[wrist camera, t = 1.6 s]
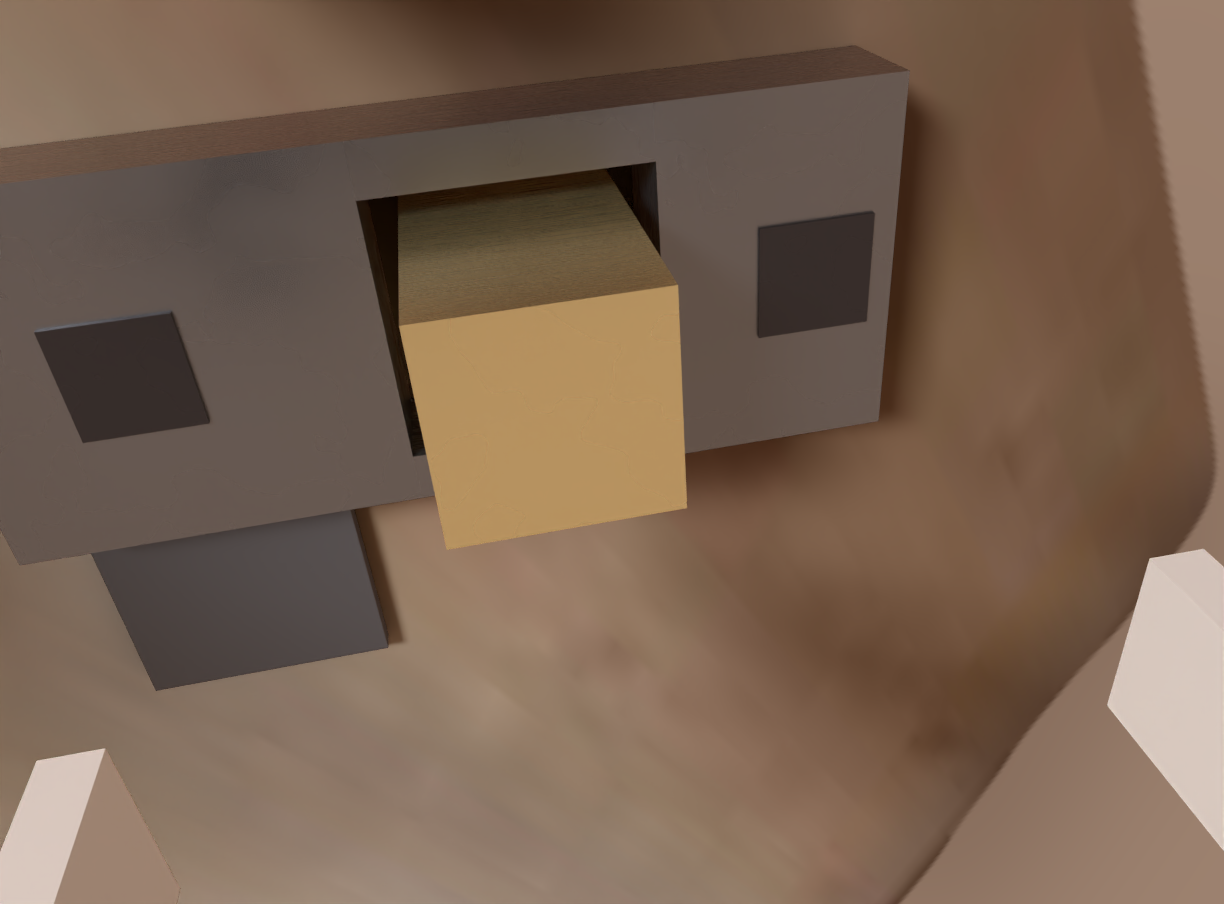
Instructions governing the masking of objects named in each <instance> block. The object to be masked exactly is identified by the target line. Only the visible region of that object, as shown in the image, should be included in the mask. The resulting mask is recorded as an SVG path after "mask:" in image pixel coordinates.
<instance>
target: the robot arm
mask: <svg viewBox="0 0 1224 904" xmlns="http://www.w3.org/2000/svg"><path fill="white" fill-rule="evenodd" d="M1107 706H1108V707H1109V709H1110V710H1111V711H1112V712H1113V714H1114V715H1115V716H1116V717H1117V719H1118V720H1119V721H1120V722H1121V724H1122V725H1123V726H1124V727H1125V728H1126V730H1127V731H1128V732H1129V733H1130V735H1131V736H1132V737H1133V738H1134V740H1135V741H1136V742H1137V743H1138V745H1139V746H1140V747H1141V748H1142V750H1143V751H1144V752H1145V753H1146V755H1147V756H1148V757H1149V758H1150V760H1151V761H1152V762H1153V763H1154V765H1155V766H1156V767H1157V768H1158V770H1159V771H1160V772H1161V773H1162V775H1163V776H1164V777H1165V778H1166V780H1167V781H1168V782H1169V783H1170V785H1171V786H1172V787H1173V788H1174V790H1175V791H1176V792H1177V793H1178V795H1179V796H1180V797H1181V798H1182V800H1183V801H1184V802H1185V803H1186V805H1187V806H1188V807H1189V808H1190V810H1191V811H1192V812H1193V813H1194V814H1195V816H1196V817H1197V818H1198V820H1199V821H1200V822H1201V823H1202V824H1203V826H1204V827H1205V828H1206V830H1207V831H1208V832H1209V833H1210V835H1211V836H1212V837H1213V838H1214V840H1215V841H1216V842H1217V843H1218V845H1219V846H1220V847H1221V848H1222V850H1223V851H1224V567H1223V566H1222V565H1221V564H1220V563H1219V562H1218V561H1217V560H1216V559H1214V558H1213V557H1212V556H1211V555H1210V554H1209V553H1208V552H1207V551H1206V550H1204V549H1200V550H1195V551H1189V552H1183V553H1178V554H1172V555H1167V556H1161V557H1156V558H1150V559H1149V563H1148V566H1147V570H1146V573H1145V576H1144V580H1143V583H1142V587H1141V590H1140V594H1139V597H1138V601H1137V604H1136V607H1135V611H1134V614H1133V618H1132V621H1131V625H1130V628H1129V632H1128V635H1127V638H1126V642H1125V645H1124V649H1123V652H1122V656H1121V659H1120V663H1119V666H1118V670H1117V673H1116V677H1115V680H1114V683H1113V687H1112V690H1111V693H1110V697H1109V700H1108V704H1107ZM179 893H180V887H179V885H178V883H177V881H176V880H175V878H174V876H173V874H172V872H171V870H170V868H169V866H168V865H167V863H166V861H165V859H164V857H163V855H162V853H161V851H160V850H159V848H158V846H157V844H156V842H155V840H154V838H153V836H152V835H151V833H150V831H149V829H148V827H147V825H146V823H145V821H144V820H143V818H142V816H141V814H140V812H139V810H138V808H137V806H136V805H135V803H134V801H133V799H132V797H131V795H130V793H129V791H128V790H127V788H126V786H125V784H124V782H123V780H122V778H121V776H120V775H119V773H118V771H117V769H116V767H115V765H114V763H113V761H112V760H111V758H110V756H109V754H108V752H107V750H106V748H104V749H98V750H93V751H87V752H82V753H76V754H71V755H65V756H60V757H54V758H49V759H43V760H38V761H36V763H35V766H34V768H33V771H32V773H31V776H30V778H29V781H28V783H27V786H26V788H25V791H24V793H23V796H22V798H21V801H20V803H19V806H18V808H17V811H16V813H15V816H14V818H13V821H12V823H11V826H10V828H9V831H8V833H7V836H6V838H5V841H4V843H3V846H2V848H1V851H0V904H177V902H178V897H179Z"/></svg>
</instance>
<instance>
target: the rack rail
mask: <svg viewBox="0 0 1224 904" xmlns="http://www.w3.org/2000/svg"><path fill="white" fill-rule="evenodd" d="M909 72H910V71H909V70H907V69H905V68H903V67H901V66H899V65H896V64H894V63H892V62H890V61H888V60H886V59H884V58H881V57H879V56H877V55H875V54H873V53H871V52H869V51H866V50H864V49H862V48H860V47H858V46H848V47H839V48H831V49H823V50H814V51H806V52H798V53H790V54H781V55H773V56H765V57H756V58H748V59H740V60H732V61H723V62H715V63H707V64H698V65H690V66H682V67H674V68H665V69H657V70H649V71H640V72H632V73H624V74H616V75H607V76H599V77H591V78H582V79H574V80H566V81H558V82H549V83H541V84H533V85H524V86H516V87H508V88H500V89H491V90H483V91H475V92H466V93H458V94H450V95H442V96H433V97H425V98H417V99H408V100H400V101H392V102H384V103H375V104H367V105H359V106H350V107H342V108H334V109H325V110H317V111H309V112H301V113H292V114H284V115H276V116H267V117H259V118H251V119H243V120H234V121H226V122H218V123H209V124H201V125H193V126H185V127H176V128H168V129H160V130H151V131H143V132H135V133H127V134H118V135H110V136H102V137H93V138H85V139H77V140H69V141H60V142H52V143H44V144H35V145H27V146H19V147H11V148H2V149H0V529H1V531H2V533H3V535H4V537H5V539H6V540H7V542H8V544H9V546H10V548H11V550H12V552H13V554H14V556H15V558H16V559H17V561H18V563H19V565H25V564H31V563H37V562H43V561H49V560H55V559H61V558H67V557H73V556H79V555H84V554H90V553H96V552H102V551H108V550H114V549H120V548H126V547H132V546H138V545H144V544H150V543H156V542H162V541H168V540H174V539H180V538H186V537H192V536H198V535H203V534H209V533H215V532H221V531H227V530H233V529H239V528H245V527H251V526H257V525H263V524H269V523H275V522H281V521H287V520H293V519H299V518H305V517H311V516H317V515H322V514H328V513H334V512H340V511H346V510H352V509H358V508H364V507H370V506H376V505H382V504H388V503H394V502H400V501H406V500H412V499H418V498H424V497H430V496H435V492H434V488H433V483H432V478H431V474H430V469H429V464H428V460H427V455H426V450H425V446H424V441H423V436H422V432H421V427H420V422H419V418H418V413H417V408H416V404H415V399H414V398H411V396H410V391H409V387H408V382H407V377H406V373H405V368H404V364H403V359H402V354H401V350H400V345H399V340H398V336H397V331H396V327H395V322H394V317H393V313H392V308H391V303H390V299H389V294H388V289H387V285H386V280H385V276H384V271H383V266H382V262H381V257H380V252H379V248H378V243H377V239H376V234H375V229H374V225H373V220H372V215H371V211H370V206H369V202H368V199H375V198H383V197H391V196H398V195H406V194H413V193H421V192H428V191H436V190H444V189H451V188H459V187H466V186H474V185H482V184H489V183H497V182H504V181H512V180H519V179H527V178H535V177H542V176H550V175H557V174H565V173H573V172H580V171H588V170H595V169H603V168H610V167H618V166H626V165H631V173H632V189H633V205H634V215H635V217H636V218H637V220H638V222H639V223H640V225H641V226H642V228H643V230H644V231H645V233H646V234H647V236H648V238H649V239H650V241H651V242H652V244H653V246H654V247H655V249H656V250H657V252H658V254H659V255H660V257H661V258H662V260H663V262H664V263H665V265H666V266H667V268H668V270H669V271H670V273H671V274H672V276H673V278H674V279H675V281H676V282H677V284H678V294H679V319H680V344H681V370H682V395H683V420H684V445H685V453H691V452H697V451H703V450H709V449H715V448H721V447H727V446H733V445H739V444H745V443H751V442H757V441H763V440H769V439H775V438H781V437H787V436H792V435H798V434H804V433H810V432H816V431H822V430H828V429H834V428H840V427H846V426H852V425H858V424H864V423H870V422H876V421H878V420H879V409H880V398H881V387H882V375H883V364H884V353H885V342H886V330H887V319H888V308H889V297H890V286H891V274H892V263H893V252H894V241H895V229H896V218H897V207H898V196H899V185H900V173H901V162H902V151H903V140H904V128H905V117H906V106H907V95H908V84H909Z"/></svg>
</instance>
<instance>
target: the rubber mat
mask: <svg viewBox="0 0 1224 904" xmlns="http://www.w3.org/2000/svg"><path fill="white" fill-rule="evenodd" d="M91 554H92V556H93V558H94V561H95V563H96V565H97V567H98V569H99V571H100V573H101V575H102V578H103V580H104V582H105V584H106V586H107V588H108V590H109V592H110V595H111V597H112V599H113V601H114V603H115V605H116V607H117V609H118V611H119V614H120V616H121V618H122V620H123V622H124V624H125V626H126V628H127V631H128V633H129V635H130V637H131V639H132V641H133V643H134V645H135V647H136V650H137V652H138V654H139V656H140V658H141V660H142V662H143V664H144V667H145V669H146V671H147V673H148V675H149V677H150V679H151V681H152V684H153V686H154V688H155V690H156V691H157V690H163V689H168V688H173V687H179V686H184V685H190V684H195V683H200V682H206V681H211V680H217V679H222V678H227V677H233V676H238V675H244V674H249V673H254V672H260V671H265V670H271V669H276V668H281V667H287V666H292V665H298V664H303V663H308V662H314V661H319V660H325V659H330V658H335V657H341V656H346V655H352V654H357V653H362V652H368V651H373V650H379V649H384V648H388V631H387V628H386V624H385V620H384V617H383V613H382V609H381V606H380V602H379V598H378V595H377V591H376V587H375V584H374V580H373V576H372V573H371V569H370V565H369V562H368V558H367V554H366V551H365V547H364V543H363V540H362V536H361V532H360V529H359V525H358V521H357V518H356V514H355V510H354V509H352V510H346V511H340V512H334V513H328V514H322V515H317V516H311V517H305V518H299V519H293V520H287V521H281V522H275V523H269V524H263V525H257V526H251V527H245V528H239V529H233V530H227V531H221V532H215V533H209V534H203V535H198V536H192V537H186V538H180V539H174V540H168V541H162V542H156V543H150V544H144V545H138V546H132V547H126V548H120V549H114V550H108V551H102V552H96V553H91Z"/></svg>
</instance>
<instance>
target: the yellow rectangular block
mask: <svg viewBox="0 0 1224 904" xmlns="http://www.w3.org/2000/svg"><path fill="white" fill-rule="evenodd" d="M398 274H399V329H400V333H401V338H402V343H403V347H404V352H405V357H406V361H407V366H408V371H409V375H410V380H411V385H412V389H413V394H414V399H415V404H416V408H417V413H418V418H419V422H420V427H421V432H422V436H423V441H424V446H425V450H426V455H427V460H428V464H429V469H430V474H431V478H432V483H433V488H434V492H435V497H436V502H437V506H438V511H439V516H440V520H441V525H442V530H443V535H444V539H445V544H446V549H447V550H448V549H454V548H460V547H466V546H471V545H477V544H483V543H489V542H494V541H500V540H506V539H512V538H517V537H523V536H529V535H535V534H540V533H546V532H552V531H558V530H563V529H569V528H575V527H581V526H586V525H592V524H598V523H604V522H609V521H615V520H621V519H627V518H632V517H638V516H644V515H650V514H655V513H661V512H667V511H673V510H678V509H684V508H687V495H686V470H685V445H684V420H683V395H682V370H681V344H680V319H679V294H678V284H677V282H676V281H675V279H674V278H673V276H672V274H671V273H670V271H669V270H668V268H667V266H666V265H665V263H664V262H663V260H662V258H661V257H660V255H659V254H658V252H657V250H656V249H655V247H654V246H653V244H652V242H651V241H650V239H649V238H648V236H647V234H646V233H645V231H644V230H643V228H642V226H641V225H640V223H639V222H638V220H637V218H636V217H635V215H634V214H633V212H632V210H631V209H630V207H629V206H628V204H627V202H626V201H625V199H624V198H623V196H622V194H621V193H620V191H619V190H618V188H617V186H616V185H615V183H614V182H613V180H612V178H611V177H610V175H609V174H608V172H607V170H606V169H605V168H603V169H595V170H588V171H580V172H573V173H565V174H557V175H550V176H542V177H535V178H527V179H519V180H512V181H504V182H497V183H489V184H482V185H474V186H466V187H459V188H451V189H444V190H436V191H428V192H421V193H413V194H406V195H398Z"/></svg>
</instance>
